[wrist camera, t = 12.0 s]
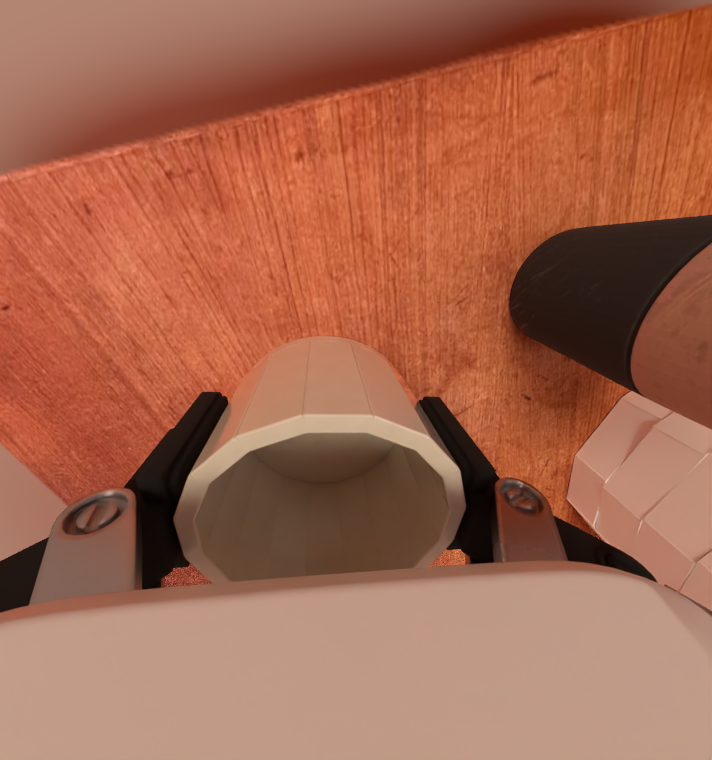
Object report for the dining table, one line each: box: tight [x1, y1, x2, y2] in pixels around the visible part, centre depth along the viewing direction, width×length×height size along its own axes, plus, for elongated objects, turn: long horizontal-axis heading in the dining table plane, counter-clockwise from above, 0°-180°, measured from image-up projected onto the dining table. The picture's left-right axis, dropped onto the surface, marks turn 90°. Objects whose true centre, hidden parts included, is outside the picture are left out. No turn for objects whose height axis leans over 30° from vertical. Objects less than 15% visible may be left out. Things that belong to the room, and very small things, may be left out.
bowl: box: [173, 336, 466, 584], centre depth 9 cm, size 7×7×5 cm
